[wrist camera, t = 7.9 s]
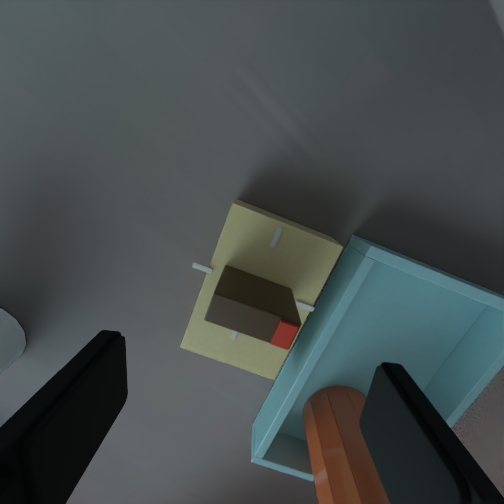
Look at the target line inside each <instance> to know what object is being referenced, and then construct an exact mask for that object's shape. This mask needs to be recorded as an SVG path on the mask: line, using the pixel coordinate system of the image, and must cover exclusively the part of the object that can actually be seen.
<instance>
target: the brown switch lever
mask: <svg viewBox="0 0 504 504" xmlns="http://www.w3.org/2000/svg"><path fill="white" fill-rule="evenodd" d="M204 320H205V321H207V322H210V323H213V324H216V325H219V326H222V327H225V328H227V329H230V330H233V331H236V332H239V333H242V334H245V335H248V336H250V337H253V338H256V339H259V340H262V341H265V342H268V343H270V344H271V345H274V346H277V347H280V348H283V349H286V350H288V349H290V347H291V345H292V343H293V341H294V339H295V337H296V335H297V333H298V331H299V329H300V327H301V325H302V323H301V319H300V316H299V313H298V309H297V306H296V302H295V299H294V296H293V292H292V289H291V288H288V287H285V286H283V285H280V284H277V283H275V282H272V281H269V280H266V279H264V278H261V277H258V276H256V275H253V274H250V273H247V272H245V271H242V270H239V269H237V268H234V267H231V266H228V265H225V266H224V269H223V271H222V274H221V276H220V279H219V281H218V284H217V286H216V288H215V291H214V293H213V296H212V299H211V301H210V304H209V307H208V310H207V312H206V315H205V318H204Z"/></svg>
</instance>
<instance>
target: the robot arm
mask: <svg viewBox="0 0 504 504" xmlns="http://www.w3.org/2000/svg"><path fill="white" fill-rule="evenodd" d="M127 395H128V389H127V367H126V345H125V337H124V336H121V333H120V332H118V331H109V330H102V331H100V332H99V333H98V334H97V335H96V336H95V337H94V338H93V339H92V340H91V341H90V342H89V343H88V344H87V345H86V346H85V347H84V348H83V349H82V350H81V351H80V352H79V353H78V354H77V355H76V356H74V357H73V358H72V359H71V360H70V361H69V362H68V363H67V364H66V365H65V366H64V367H63V368H62V369H61V370H60V371H58V372H57V373H56V374H55V375H54V376H53V377H52V378H51V379H50V380H49V381H48V382H47V383H46V384H45V385H44V386H43V387H42V388H41V389H40V390H39V391H38V392H37V393H36V394H35V395H33V396H32V397H31V398H30V399H29V400H28V401H27V402H26V403H25V404H24V405H23V406H22V407H21V408H20V409H19V410H18V411H17V412H16V413H15V414H14V415H13V416H12V417H11V418H10V419H9V420H8V421H7V422H6V423H4V424H3V425H2V426H1V427H0V504H66V502H67V500H68V499H69V497H70V495H71V494H72V492H73V490H74V488H75V487H76V485H77V483H78V482H79V480H80V478H81V477H82V475H83V473H84V472H85V470H86V468H87V467H88V465H89V463H90V462H91V460H92V458H93V456H94V455H95V453H96V451H97V450H98V448H99V446H100V445H101V443H102V441H103V440H104V438H105V436H106V435H107V433H108V431H109V430H110V428H111V426H112V424H113V423H114V421H115V419H116V418H117V416H118V414H119V413H120V411H121V409H122V408H123V406H124V404H125V402H126V399H127ZM359 426H360V430H361V433H362V436H363V438H364V441H365V443H366V446H367V448H368V450H369V453H370V455H371V458H372V460H373V463H374V465H375V468H376V470H377V473H378V475H379V478H380V480H381V483H382V485H383V488H384V490H385V493H386V495H387V498H388V500H389V503H390V504H504V497H503V496H502V495H501V494H500V492H499V491H498V490H497V488H496V487H495V486H494V484H493V483H492V482H491V480H490V479H489V478H488V477H487V475H486V474H485V473H484V471H483V470H482V469H481V467H480V466H479V465H478V463H477V462H476V461H475V460H474V458H473V457H472V456H471V454H470V453H469V452H468V450H467V449H466V448H465V447H464V445H463V444H462V443H461V441H460V440H459V439H458V437H457V436H456V435H455V433H454V432H453V431H452V430H451V428H450V427H449V426H448V424H447V423H446V422H445V420H444V419H443V418H442V416H441V415H440V414H439V413H438V411H437V410H436V409H435V407H434V406H433V405H432V403H431V402H430V401H429V399H428V398H427V397H426V396H425V394H424V393H423V392H422V390H421V389H420V388H419V386H418V385H417V384H416V382H415V381H414V380H413V379H412V377H411V376H410V375H409V373H408V372H407V371H406V369H405V368H404V367H403V366H402V365H401V364H399V363H390V362H382V363H381V365H380V366H377V367H376V370H375V373H374V376H373V379H372V382H371V385H370V388H369V391H368V395H367V398H366V401H365V404H364V407H363V410H362V413H361V416H360V420H359Z"/></svg>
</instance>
